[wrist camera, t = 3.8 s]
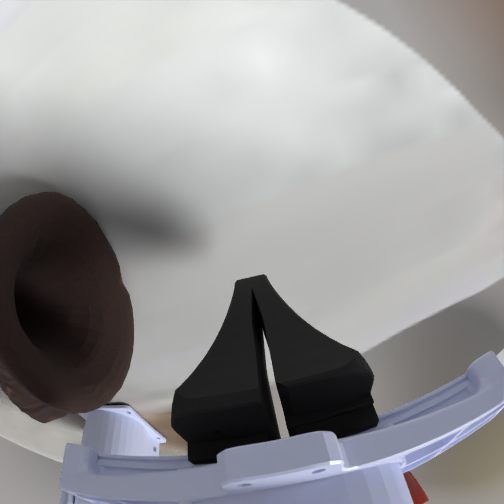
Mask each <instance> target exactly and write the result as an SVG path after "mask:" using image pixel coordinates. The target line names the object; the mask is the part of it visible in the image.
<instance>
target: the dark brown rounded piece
mask: <svg viewBox="0 0 504 504" xmlns="http://www.w3.org/2000/svg"><path fill="white" fill-rule="evenodd" d="M133 344H134V320H133V310H132V305H131V300H130V296H129V293H128V291H127V290H126V288H125V286H124V284H123V282H122V278H121V272H120V266H119V264H118V261H117V258H116V255H115V253H114V251H113V249H112V248H111V246H110V244H109V242H108V241H107V239H106V237H105V236H104V234H103V232H102V231H101V229H100V227H99V226H98V224H97V222H96V221H95V220H94V219H93V218H92V217H91V216H90V215H89V214H88V213H87V212H86V210H85V209H84V208H83V207H81V206H80V205H79V204H77V203H76V202H75V201H73V200H72V199H71V198H68V197H66V196H64V195H62V194H59V193H56V192H43V193H38V194H33V195H29V196H26V197H24V198H22V199H20V200H19V201H17V202H15V203H14V204H12V205H11V206H9V207H8V208H7V209H6V210H5V211H4V212H3V213H2V214H1V215H0V387H1V388H2V390H3V391H4V392H5V393H6V394H7V396H8V397H9V399H10V400H11V401H12V402H13V403H14V404H15V405H16V406H18V408H19V409H20V410H21V411H22V412H24V413H26V414H28V415H29V416H30V417H31V418H33V419H35V420H37V421H39V422H41V423H47V422H50V421H52V420H55V419H58V418H61V417H63V416H65V415H66V414H68V413H72V414H74V413H88V412H91V411H93V410H96V409H99V408H100V407H102V406H103V405H105V404H107V403H108V402H110V401H111V400H112V398H113V397H114V396H115V395H116V393H117V392H118V391H119V390H120V388H121V387H122V385H123V382H124V380H125V378H126V375H127V373H128V370H129V367H130V363H131V358H132V353H133Z"/></svg>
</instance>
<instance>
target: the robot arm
mask: <svg viewBox="0 0 504 504" xmlns="http://www.w3.org/2000/svg"><path fill="white" fill-rule="evenodd" d="M263 332H264V335H265V338H266V341H267V344H268V347H269V350H270V355H271V360H272V366H273V371H274V377H275V382H276V386H277V389H278V393H279V397H280V400H281V404H282V408H283V411H284V416H285V421H286V425H287V429H288V432H289V435H290V437H288V438H283V439H281V437H280V433H279V429H278V424H277V419H276V414H275V410H274V405H273V400H272V396H271V391H270V386H269V381H268V376H267V369H266V359H265V349H264V338H263ZM373 381H374V375H373V372H372V370H371V368H370V367H369V365H368V363H367V362H366V361H365V359H364V358H363V357H362V355H361V354H360V353H359V352H358V351H356V350H354V349H352V348H349V347H347V346H345V345H342V344H340V343H338V342H337V341H335V340H333V339H331V338H329V337H328V336H326V335H324V334H323V333H321V332H320V331H318V330H317V329H315V328H314V327H312V326H311V325H310V324H308V323H307V322H306V321H305V320H303V319H302V318H301V317H300V316H299V315H297V314H296V313H295V312H294V311H293V310H292V309H291V308H290V307H289V306H288V305H287V304H286V303H285V302H284V300H283V299H282V298H281V297H280V296H279V295H278V293H277V292H276V291H275V289H274V288H273V287H272V285H271V284H270V282H269V280H268V279H267V276H266V275H264V274H263V275H258V276H254V277H250V278H245V279H241V280H237V281H236V282H235V288H234V293H233V297H232V300H231V303H230V306H229V310H228V312H227V315H226V318H225V320H224V322H223V325H222V327H221V329H220V331H219V333H218V335H217V337H216V339H215V341H214V343H213V344H212V346H211V348H210V349H209V351H208V353H207V354H206V356H205V357H204V358H203V360H202V361H201V362H200V364H199V365H198V366H197V368H196V369H195V370H194V371H193V373H192V374H191V375H190V376H189V377H188V378H187V379H186V380H185V381H184V382H183V383H182V385H181V386H180V387H179V388H177V389H176V390H175V394H174V398H173V403H172V412H171V426H172V428H173V429H174V430H175V431H176V432H177V433H178V434H179V435H180V436H181V437H182V438H183V439H184V440H185V441H187V442H188V456H159V443H165V442H166V439H165V438H164V437H163V436H162V435H161V434H159V433H158V432H157V431H156V430H155V429H154V428H152V427H151V426H150V425H149V424H148V423H147V422H146V421H145V420H144V419H143V418H141V417H140V416H139V415H138V414H137V413H136V412H135V411H134V410H133V409H132V408H131V407H130V406H127V405H103V406H102V407H100V408H99V409H96V410H93V411H91V412H88V413H78V414H79V415H80V416H81V417H83V418H84V419H85V420H86V422H85V427H84V432H83V437H82V442H81V445H78V444H71V443H67V444H66V448H65V453H64V458H63V464H62V470H61V477H60V483H59V488H60V489H61V498H60V504H414V503H413V500H412V498H411V495H410V492H409V489H408V486H407V484H406V481H405V478H404V475H403V473H405V472H407V471H409V470H411V469H413V468H415V467H417V466H419V465H421V464H423V463H425V462H426V461H428V460H430V459H432V458H434V457H435V456H437V455H439V454H440V453H442V452H443V451H445V450H447V449H448V448H450V447H452V446H453V445H455V444H456V443H458V442H459V441H461V440H463V439H464V438H466V437H467V436H468V435H470V434H472V433H473V432H474V431H476V430H477V429H479V428H480V427H482V426H483V425H484V424H486V423H487V422H489V421H490V420H491V419H493V418H494V417H495V416H496V415H497V414H498V413H499V412H500V411H501V409H503V407H504V367H503V365H502V364H501V362H500V361H499V360H498V358H497V357H496V355H495V354H494V353H493V351H490V352H488V353H486V354H485V355H483V356H482V357H480V358H478V359H477V360H475V361H474V362H473V363H472V364H471V365H470V366H469V368H468V369H467V372H466V374H464V375H463V376H461V377H459V378H457V379H456V380H454V381H452V382H450V383H448V384H447V385H445V386H443V387H441V388H439V389H437V390H435V391H433V392H431V393H429V394H427V395H425V396H423V397H420V398H418V399H416V400H414V401H412V402H409V403H407V404H405V405H403V406H400V407H398V408H396V409H393V410H391V411H388V412H386V413H383V414H381V415H378V416H377V414H376V411H375V409H374V406H373V403H374V401H373V398H372V396H371V389H372V385H373Z"/></svg>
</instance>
